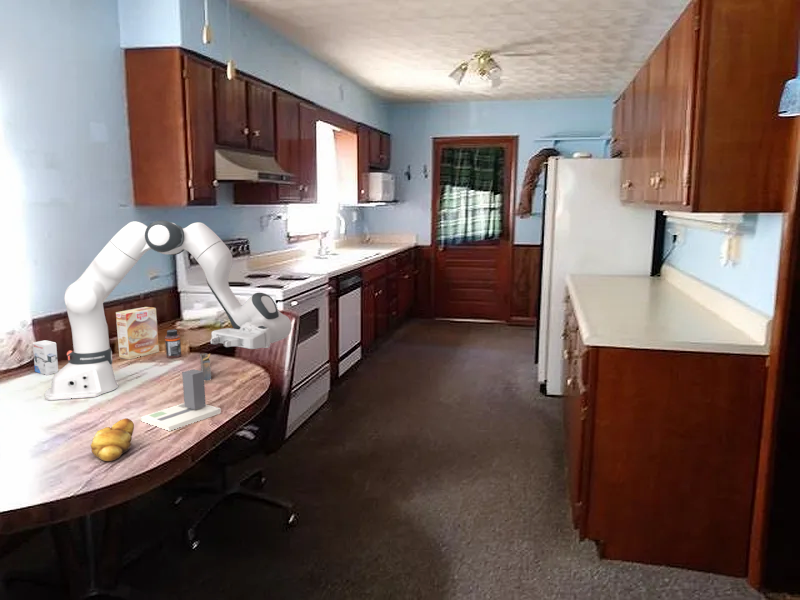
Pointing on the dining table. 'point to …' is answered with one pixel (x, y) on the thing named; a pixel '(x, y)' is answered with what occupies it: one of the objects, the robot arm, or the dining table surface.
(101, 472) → the dining table surface
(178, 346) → the supplement bottle
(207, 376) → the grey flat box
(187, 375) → the switch tab
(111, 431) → the bread roll
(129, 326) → the coffeecake box
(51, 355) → the ink box
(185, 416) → the switch panel
